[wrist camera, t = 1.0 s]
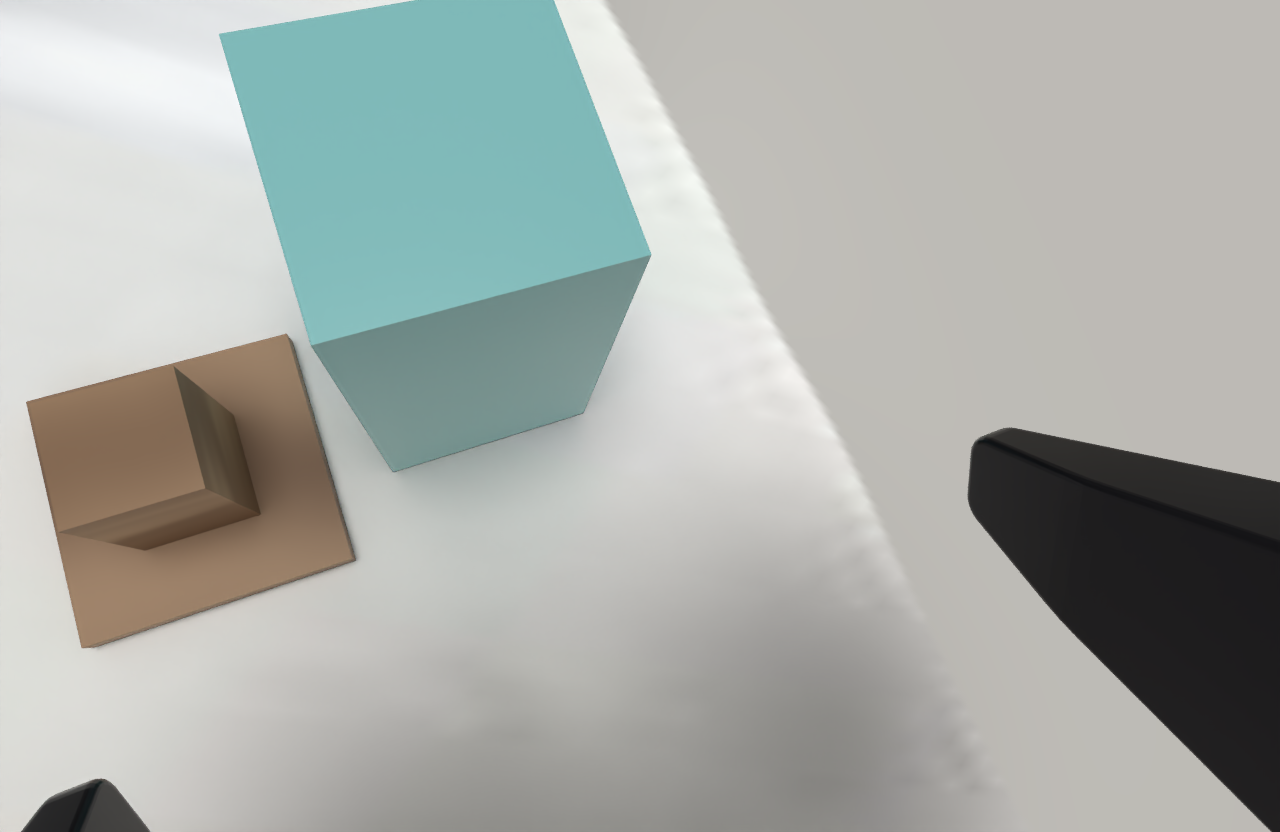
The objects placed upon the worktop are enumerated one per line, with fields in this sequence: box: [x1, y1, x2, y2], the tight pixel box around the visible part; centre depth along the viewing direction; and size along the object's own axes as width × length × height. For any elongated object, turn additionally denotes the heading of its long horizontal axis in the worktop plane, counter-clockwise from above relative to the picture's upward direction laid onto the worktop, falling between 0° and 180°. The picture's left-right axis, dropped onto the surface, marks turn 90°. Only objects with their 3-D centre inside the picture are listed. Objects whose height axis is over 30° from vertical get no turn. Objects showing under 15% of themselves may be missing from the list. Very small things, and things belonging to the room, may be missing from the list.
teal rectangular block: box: [219, 0, 651, 472], centre depth 17 cm, size 5×5×10 cm
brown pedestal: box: [26, 334, 356, 648], centre depth 18 cm, size 6×6×5 cm
